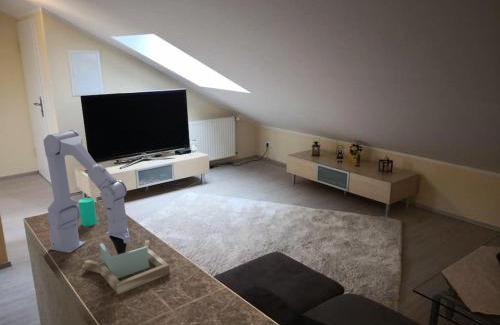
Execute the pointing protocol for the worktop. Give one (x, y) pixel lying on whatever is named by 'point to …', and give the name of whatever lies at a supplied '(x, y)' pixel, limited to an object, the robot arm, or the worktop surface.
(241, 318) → the worktop surface
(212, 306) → the worktop surface
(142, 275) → the pocket
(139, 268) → the l-shaped corner panel
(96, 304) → the worktop surface
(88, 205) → the candle
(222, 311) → the worktop surface
